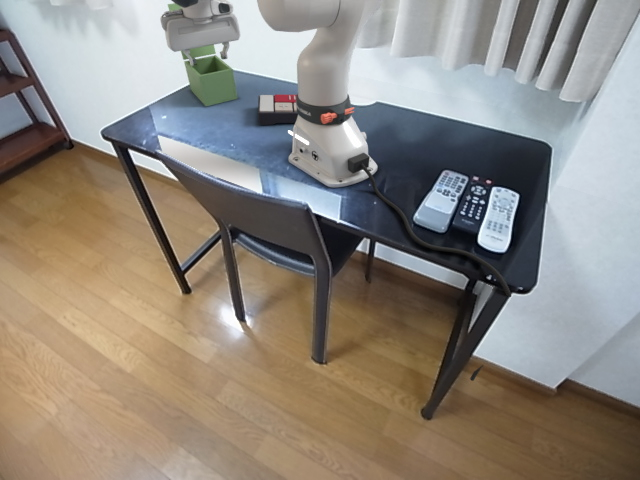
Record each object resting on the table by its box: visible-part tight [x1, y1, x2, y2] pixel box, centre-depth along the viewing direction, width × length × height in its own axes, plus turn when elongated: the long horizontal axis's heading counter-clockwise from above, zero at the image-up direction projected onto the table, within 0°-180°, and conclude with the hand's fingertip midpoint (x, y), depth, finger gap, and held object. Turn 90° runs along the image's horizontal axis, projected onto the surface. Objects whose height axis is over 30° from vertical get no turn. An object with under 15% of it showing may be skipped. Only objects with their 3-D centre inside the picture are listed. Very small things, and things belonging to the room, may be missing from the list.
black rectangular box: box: [257, 94, 298, 126], centre depth 105 cm, size 11×4×15 cm
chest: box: [183, 54, 238, 107], centre depth 113 cm, size 14×10×9 cm
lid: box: [167, 2, 217, 61], centre depth 110 cm, size 14×10×1 cm
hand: (209, 61), depth 108 cm, fingers open, 8 cm apart
